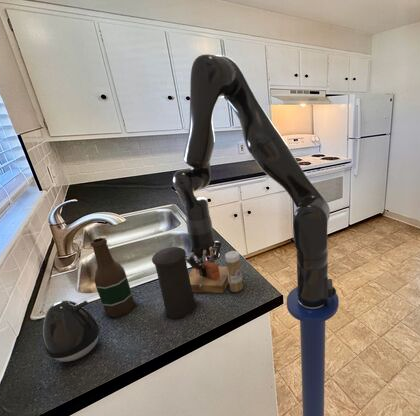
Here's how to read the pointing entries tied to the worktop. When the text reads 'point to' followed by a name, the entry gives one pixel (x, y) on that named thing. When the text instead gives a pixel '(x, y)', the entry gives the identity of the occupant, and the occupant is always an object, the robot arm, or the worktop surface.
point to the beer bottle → (111, 281)
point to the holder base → (209, 281)
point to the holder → (211, 270)
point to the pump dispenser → (69, 331)
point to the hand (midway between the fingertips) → (207, 273)
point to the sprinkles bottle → (234, 271)
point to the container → (174, 281)
